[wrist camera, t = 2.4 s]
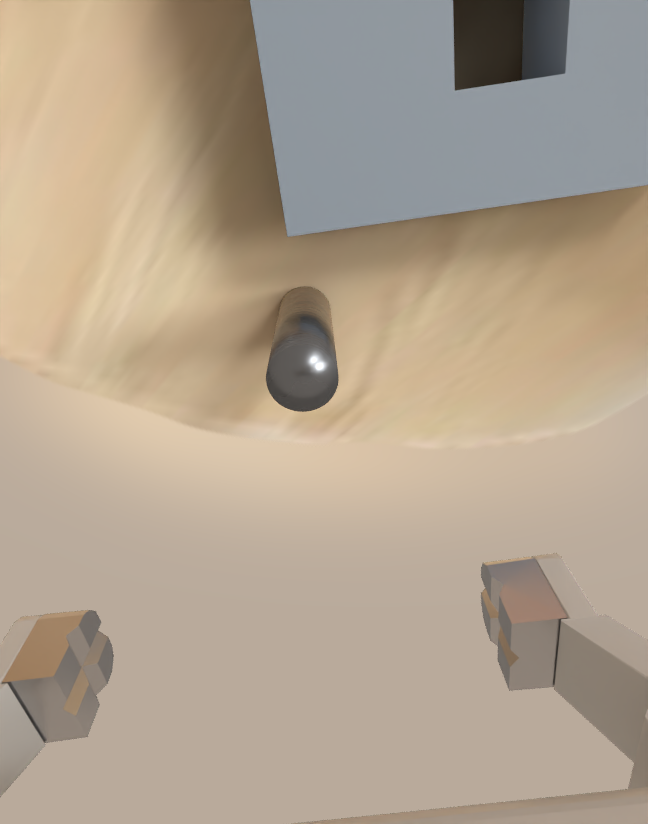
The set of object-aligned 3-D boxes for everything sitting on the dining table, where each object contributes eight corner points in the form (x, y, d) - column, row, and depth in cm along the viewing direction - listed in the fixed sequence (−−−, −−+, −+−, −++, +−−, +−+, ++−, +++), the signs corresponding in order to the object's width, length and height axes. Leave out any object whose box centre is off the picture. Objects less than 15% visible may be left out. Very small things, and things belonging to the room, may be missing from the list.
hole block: (721, -207, 21) (829, -301, 17) (666, 168, 28) (734, 172, 23) (237, -124, 22) (219, -192, 18) (291, 222, 28) (287, 236, 24)
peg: (326, 283, 30) (333, 340, 21) (333, 333, 31) (342, 406, 22) (275, 290, 30) (259, 350, 21) (284, 339, 31) (273, 415, 22)
